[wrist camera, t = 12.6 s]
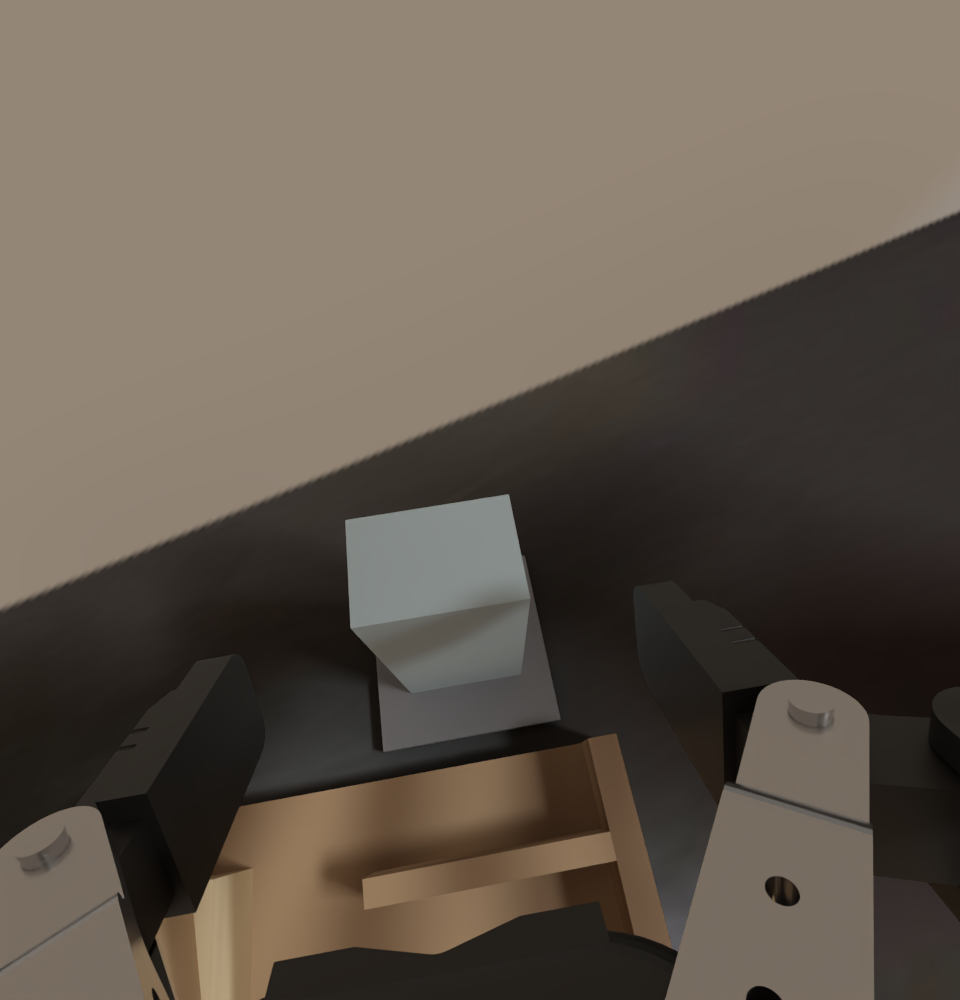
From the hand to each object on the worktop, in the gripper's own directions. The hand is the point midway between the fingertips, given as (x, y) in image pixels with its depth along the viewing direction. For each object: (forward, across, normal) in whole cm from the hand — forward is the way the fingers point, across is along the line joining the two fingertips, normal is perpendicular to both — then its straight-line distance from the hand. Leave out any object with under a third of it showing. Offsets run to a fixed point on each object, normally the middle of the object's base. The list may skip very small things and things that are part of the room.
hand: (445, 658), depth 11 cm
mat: (+11, 0, +7) cm, 13 cm away
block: (+11, 0, +6) cm, 12 cm away
